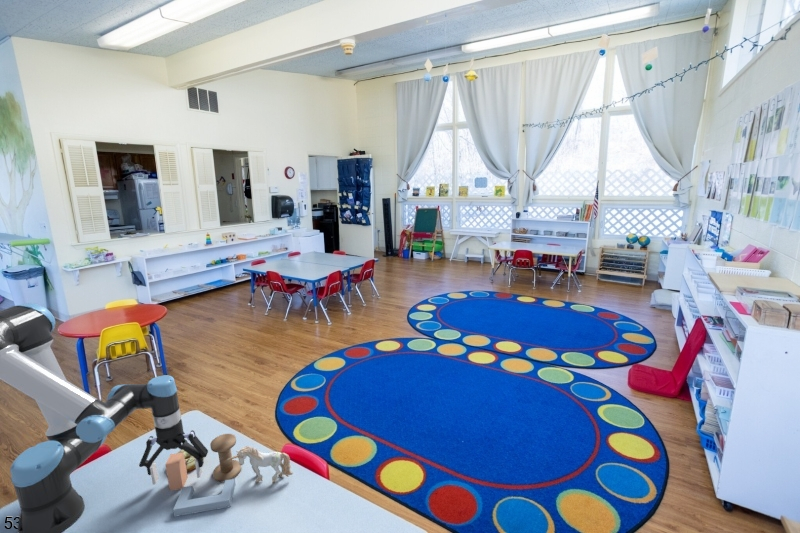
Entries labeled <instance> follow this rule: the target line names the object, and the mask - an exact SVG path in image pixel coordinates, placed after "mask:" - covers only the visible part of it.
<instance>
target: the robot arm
mask: <svg viewBox="0 0 800 533" xmlns="http://www.w3.org/2000/svg"><path fill="white" fill-rule="evenodd" d="M55 326H56V318H55V317H54V315H53V313H52V312H51V311H50V310H49V309H48V308H47V307H45V306H43V305H40V304H38V303H32V302H26V303H25V302H24V303H21V304H17V305H12V306H10V307H7V308H4V309H2V310H0V380H1V381H2V382H4V383H6V384H7V385H10V386H11V387H13V388H14V389H16V390H17V391H20V392H21V393H23V394H24V395H26V396H28V397H29V398H32V399H33V400H35V402H36V404H37V406H38V408H39V410H40V412H41V414H42V416H43V418H44V420H45V422H46V424H47V426H48V428H47V430H46V431H45V433H44V434H45V436H46V438H47V440H46V441H42V442H39V443H36V445H35V446H30V447H29V448H27V449H25V450H24V451H22V452H21V453H20V454H19V455H18V456H17V457H16V458H15V459H14V460H13V462H12V463H11V465H10V476H11V478H10V480H11V482H12V484H13V487H14V488H13V489H14V490H15V494H16V498H17V500H18V504H19V508H20V513H19V520H18V525H17V532H18V533H62V532H64V531H65V530H67V529H68V528H70V527H71V526H72V525H74V523H75V522H76V521H78V519H79V518H80V517H81V516H82V515H83V513H84V511H85V508H86V507H85V501H84V498H83V496H81V495H80V494H79V493H78V492H77V491H76V489H75V488H74V487H73V485H72V480H71V477H70V476H71V474H72V473H73V472H75V471H76V469H78V468H79V467H80V466H81V465H83V463H85V461H86V460H88V458H90V457H91V456H92V455H93V454H95V453H96V452H97V451H98V450H99V449H100V448H101V447H102V445H103V444H104V443H105V441H106V440H107V436H108V435H109V434H111V433H112V432H113V431H114V430H115V429H116V428H117V427H118V426H119V425H120V424H121V423H122V422H123V421H125V420H126V419H128V418H129V416H130V415H131V414H133V412H135V411H136V410H147V409H151V413H152V418H153V424H154V430H155V435H156V436H155V437H154V436H153V435H151V436H149V437H148V439H147V440H146V443H145V444H146V447H145V450H144V453H143V455H142V457H141V460H140V462H139V467H140V468H142V467H145V468H146V471H147V475H148V476H151V482H152V485H153V486H155V485H157V482H158V480H159V479H160V478H159V473H158V469H157V464H156V461H155V460H156V459H157V458H158V457H159V456H160V454H162V452H163V450H166V451H170V450H177V449H179V450H184V451H186V452H187V453H189V454H190V455H191V456H193V457H194V458H196V460H195V466H196V468H195V471H196V477H197V478H201V475H202V473H203V469H202V467H203V466H204V462H205V461H204V459H203V457H204V458H206V457H207V455H208V453H209V449H208V448H207V447H206V446H205V445H204V444H203V442H202V441H201V440H200V439H199V438H198V437H197V435H196V432H195V430H193V429H192V430H190V432H186V433H185V432H184V426H183V421H182V414H181V408H180V404H179V399H178V398H179V397H178V387H177V386H176V382H175V381H176V380H175V378H174V377H173V376H172V375H169V374H168V375H167V374H164V375H163V374H162V375H159V376H156V377H153V378H151V379H150V380H149V381H147V383H134V384H133V383H126V384H117V385H114V386H113V387H112V388H111V389H110V392H108V394H107V397H106V401H104V402H103V401H101V400H99V399H98V398H96V397H95V396H93V395H91V394H90V393H88V392H87V391H85V390H83V389H82V388H81V387H78V386H76V385H75V384H73V383H72V382H70V381H68V380H67V378H66V376H65V375H64V372H63V370H62V368H61V366H60V364H59V362H58V360H57V357H56V356H55V353H54V352H53V350H52V347H51V345H52V343H53V342H54V337H53V335H52V332H53V331H54V329H55ZM188 441H189V442H188ZM155 443H156V444H157V445H159V447H158V448H157V449H156V450H155V452H154V453H153V454H152V456H151V457H150V458H149V460H147V459H148V457H149V455H150V452H151V450H152V447H153V445H154V444H155Z"/></svg>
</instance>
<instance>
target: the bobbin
mask: <svg viewBox="0 0 800 533" xmlns="http://www.w3.org/2000/svg"><path fill="white" fill-rule="evenodd" d="M236 444H237V437H236V436H235V434H233V433H223V434H220V435H218V436H216V437H215V438H214V439H212V441H211V442H210V445H209V446H210V450H211V451H212V452H213V453H218V460H219V464H218V465H217V466H215V468H214V469H213V472H212V476H213V479H214V481H216V482H220V483H225V480H230V479H236V477H237V476H239V474H240V473H241V472H242V465H239V460H236V459H230V460H227V459H229V458H232V457H233V455H232V448H233V447H234V446H235V445H236Z"/></svg>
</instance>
